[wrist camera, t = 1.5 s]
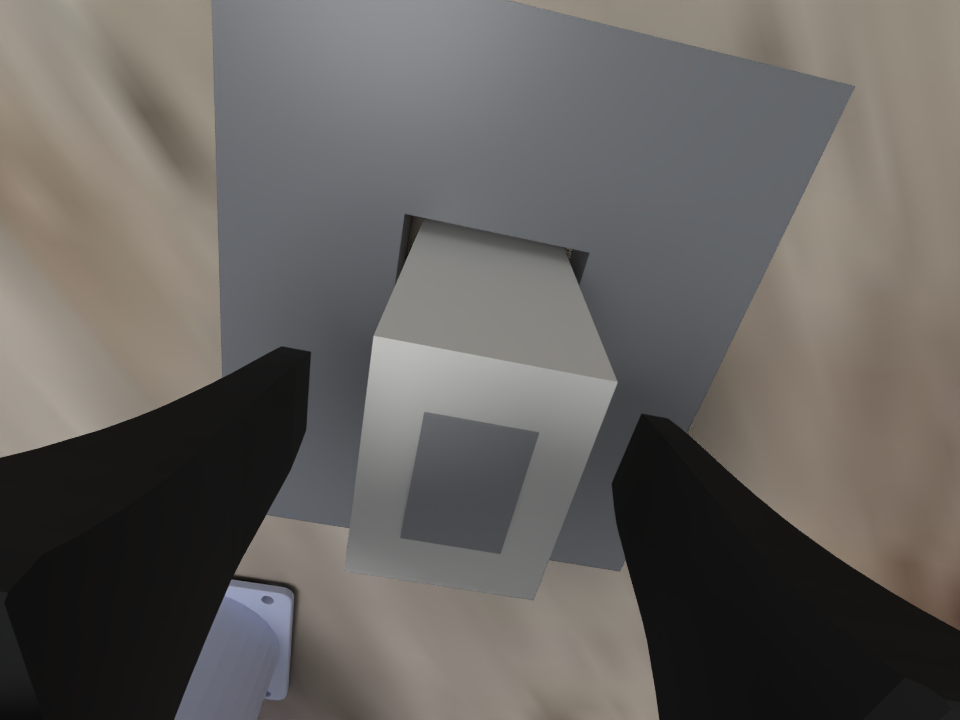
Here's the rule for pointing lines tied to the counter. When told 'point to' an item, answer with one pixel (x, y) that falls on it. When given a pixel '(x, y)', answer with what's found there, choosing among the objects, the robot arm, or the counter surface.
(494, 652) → the counter surface
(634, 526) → the robot arm
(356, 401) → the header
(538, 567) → the plug
